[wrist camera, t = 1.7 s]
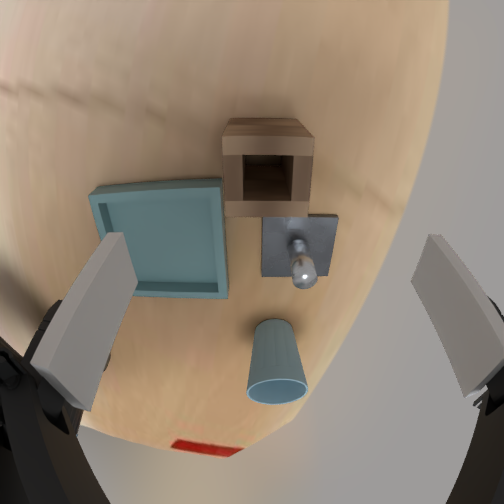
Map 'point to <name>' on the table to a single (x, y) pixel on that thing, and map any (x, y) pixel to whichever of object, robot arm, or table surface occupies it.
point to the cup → (275, 365)
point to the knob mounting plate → (298, 247)
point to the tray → (169, 234)
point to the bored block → (267, 168)
